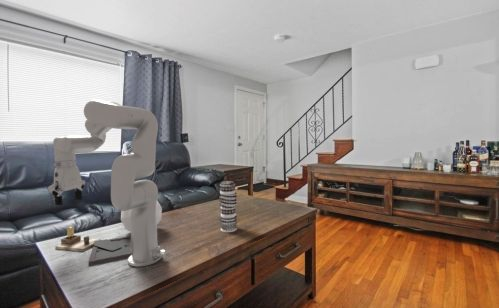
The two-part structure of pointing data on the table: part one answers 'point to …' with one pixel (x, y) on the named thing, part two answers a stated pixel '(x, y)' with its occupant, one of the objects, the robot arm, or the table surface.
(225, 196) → the decorative candle
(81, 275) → the table surface
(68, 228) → the brass pin
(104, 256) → the picture frame
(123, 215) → the geometric orb
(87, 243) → the board
